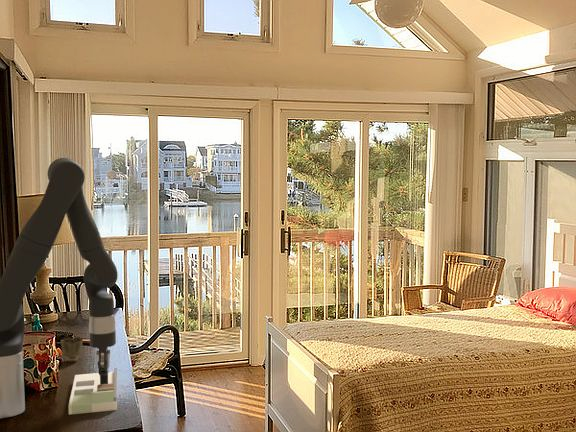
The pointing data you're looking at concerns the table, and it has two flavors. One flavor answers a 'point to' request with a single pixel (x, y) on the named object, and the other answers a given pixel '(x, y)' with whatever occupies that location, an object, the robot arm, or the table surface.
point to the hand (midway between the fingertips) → (104, 386)
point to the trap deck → (92, 394)
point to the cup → (71, 348)
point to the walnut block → (105, 387)
